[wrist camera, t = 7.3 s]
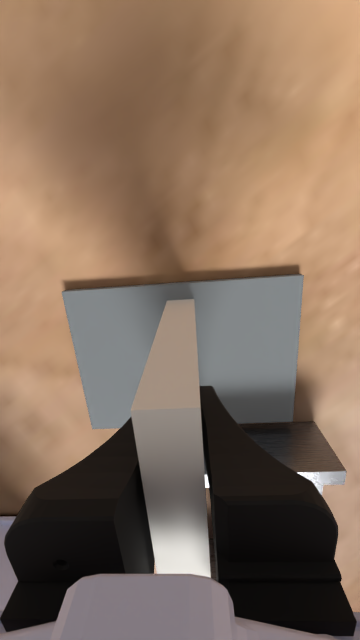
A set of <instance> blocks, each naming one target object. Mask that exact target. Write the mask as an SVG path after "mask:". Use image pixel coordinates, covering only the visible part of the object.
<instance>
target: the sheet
mask: <svg viewBox="0 0 360 640" xmlns="http://www.w3.org/2000/svg"><path fill="white" fill-rule="evenodd" d="M131 417H132V423H133V429H134V435H135V441H136V447H137V453H138V460H139V466H140V472H141V478H142V484H143V490H144V497H145V503H146V509H147V515H148V521H149V527H150V533H151V540H152V546H153V552H154V558H155V564H156V570H157V574H195V575H201V576H207V577H210V578H211V571H210V555H209V538H208V521H207V504H206V487H205V471H204V454H203V438H202V421H201V405H200V388H199V371H198V354H197V337H196V321H195V304H194V299H184V300H169V301H167V302H166V305H165V308H164V311H163V314H162V317H161V320H160V323H159V326H158V329H157V332H156V335H155V338H154V341H153V344H152V347H151V350H150V353H149V356H148V359H147V362H146V365H145V368H144V371H143V374H142V377H141V380H140V383H139V386H138V389H137V392H136V395H135V398H134V401H133V404H132V407H131Z"/></svg>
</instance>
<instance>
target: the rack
mask: <svg viewBox="0 0 360 640" xmlns="http://www.w3.org/2000/svg"><path fill="white" fill-rule="evenodd" d="M239 426H240V427H241V428H242V429H243V430H244V431H245V432H246V434H247V435H248V436H249V437H250V438H251V439H253V440H254V441H255V442H256V443H257V444H258V445H259V446H260V447H261V448H263V449H264V450H265V451H266V452H268V453H269V454H270V455H271V456H273V457H274V458H275V459H277V460H278V461H280V462H281V463H282V464H284V465H285V466H287V467H288V468H290V469H292V470H293V471H295V472H297V473H298V474H300V475H302V476H303V477H305V478H307V479H308V480H310V481H312V482H313V484H314V485H315V486H316V488H317V489H318V491H319V492H320V494H321V495H322V490H323V485H344V484H345V478H346V472H347V471H346V470H345V468H344V467H343V465H342V463H341V462H340V460H339V459H338V457H337V456H336V454H335V453H334V451H333V450H332V448H331V447H330V445H329V443H328V442H327V440H326V439H325V437H324V436H323V434H322V433H321V431H320V430H319V428H318V427H317V425H316V424H315V422H296V423H268V424H241V425H239ZM203 454H204V452H203ZM204 471H205V487H206V488H209V484H208V477H207V471H206V465H205V458H204ZM209 555H210V571H211V579H213V580H215V581H216V568H215V554H214V540H213V539H209Z"/></svg>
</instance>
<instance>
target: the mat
mask: <svg viewBox="0 0 360 640" xmlns="http://www.w3.org/2000/svg"><path fill="white" fill-rule="evenodd" d="M303 277H304V275H301V274H292V275H278V276H263V277H249V278H234V279H220V280H205V281H191V282H176V283H161V284H147V285H132V286H118V287H103V288H89V289H74V290H65V291H62V296H63V300H64V305H65V309H66V314H67V318H68V323H69V327H70V332H71V336H72V341H73V345H74V349H75V354H76V358H77V363H78V367H79V372H80V376H81V381H82V385H83V390H84V394H85V399H86V403H87V407H88V412H89V416H90V421H91V425H92V429H109V428H121V427H122V426H123V425H124V424H125V423H126V422H127V421H128V419H129V418H130V417H131V407H132V404H133V401H134V398H135V395H136V392H137V389H138V386H139V383H140V380H141V377H142V374H143V371H144V368H145V365H146V362H147V359H148V356H149V353H150V350H151V347H152V344H153V341H154V338H155V335H156V332H157V329H158V326H159V323H160V320H161V317H162V314H163V311H164V308H165V305H166V302H167V301H169V300H184V299H194V304H195V321H196V337H197V354H198V371H199V386H213V387H214V389H215V392H216V394H217V395H218V397H219V399H220V401H221V402H222V404H223V405H224V407H225V408H226V409H227V411H228V412H229V414H230V415H231V416H232V418H233V419H234V420H235V421H236V422H237V424H246V423H273V422H293V412H294V398H295V385H296V371H297V358H298V344H299V331H300V317H301V304H302V290H303Z"/></svg>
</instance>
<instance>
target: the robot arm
mask: <svg viewBox="0 0 360 640" xmlns="http://www.w3.org/2000/svg"><path fill="white" fill-rule="evenodd" d="M199 388H200V405H201V421H202V438H203V452H204V458H205V465H206V471H207V477H208V484H209V490H210V499H211V512H212V526H213V540H214V554H215V568H216V581H215V580H213V579H211V578H210V577H207V576H201V575H195V574H154V562H155V558H154V552H153V546H152V540H151V533H150V527H149V521H148V515H147V509H146V503H145V497H144V490H143V484H142V478H141V472H140V466H139V460H138V453H137V447H136V441H135V435H134V429H133V423H132V417H130V418H129V419H128V421H127V422H126V423H125V424H124V425H123V426H122V427H121V428H120V429H119V430H118V431H117V432H116V433H115V434H114V435H113V436H112V437H111V438H110V439H109V440H108V441H106V442H105V443H104V444H103V445H101V446H100V447H99V448H98V449H96V450H95V451H94V452H92V453H91V454H90V455H89V456H87V457H86V458H84V459H83V460H82V461H80V462H79V463H77V464H76V465H74V466H72V467H71V468H69V469H68V470H66V471H64V472H63V473H61V474H59V475H58V476H56V477H54V478H52V479H50V480H49V481H47V482H45V483H43V484H41V485H39V486H38V487H36V488H34V490H33V491H32V493H31V494H30V496H29V497H28V498H27V500H26V501H25V503H24V505H23V506H22V508H21V510H20V511H19V513H18V515H17V516H3V517H0V640H360V612H353V611H352V609H351V607H350V604H349V602H348V600H347V597H346V595H345V593H344V590H343V588H342V585H341V583H340V581H341V579H342V578H341V574H340V571H339V569H338V567H337V564H336V562H335V560H334V556H335V550H336V545H337V539H338V525H337V523H336V521H335V518H334V516H333V514H332V512H331V510H330V508H329V507H328V505H327V503H326V502H325V500H324V498H323V497H322V495H321V494H320V492H319V491H318V489H317V488H316V486H315V485H314V484H313V482H312V481H310V480H308V479H307V478H305V477H303V476H302V475H300V474H298V473H297V472H295V471H293V470H292V469H290V468H288V467H287V466H285V465H284V464H282V463H281V462H280V461H278V460H277V459H275V458H274V457H273V456H271V455H270V454H269V453H268V452H266V451H265V450H264V449H263V448H261V447H260V446H259V445H258V444H257V443H256V442H255V441H254V440H253V439H251V438H250V437H249V436H248V435H247V434H246V432H245V431H244V430H243V429H242V428H241V427H240V426H239V425H238V424H237V422H236V421H235V420H234V419H233V418H232V416H231V415H230V414H229V412H228V411H227V409H226V408H225V407H224V405H223V404H222V402H221V401H220V399H219V397H218V395H217V394H216V392H215V389H214V387H213V386H199Z"/></svg>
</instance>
